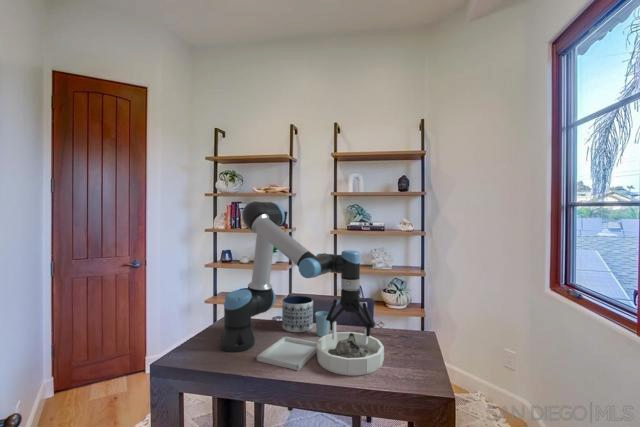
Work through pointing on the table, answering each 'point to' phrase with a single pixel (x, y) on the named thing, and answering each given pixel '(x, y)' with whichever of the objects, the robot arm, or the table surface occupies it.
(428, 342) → the table surface
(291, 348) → the tray
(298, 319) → the planter
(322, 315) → the cup
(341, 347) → the decorative stone
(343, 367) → the bowl
